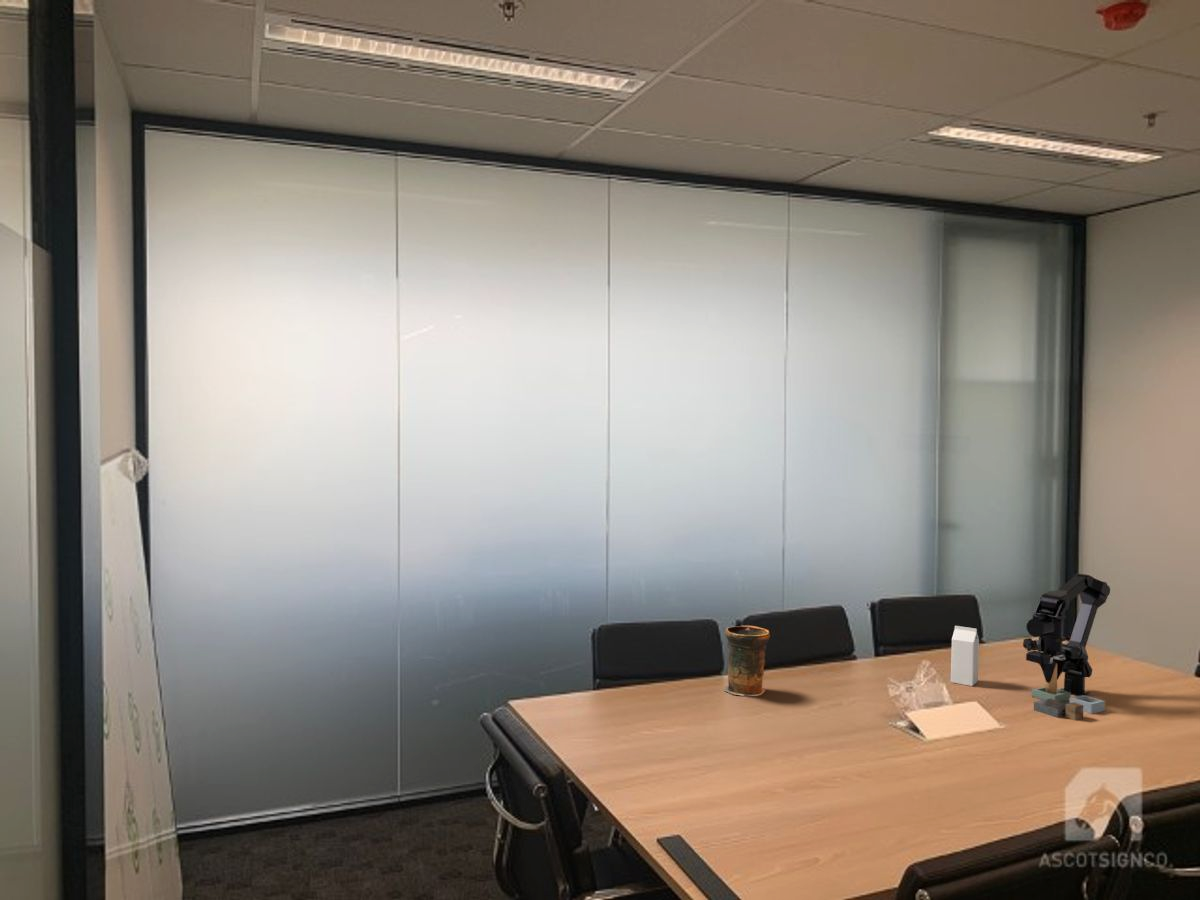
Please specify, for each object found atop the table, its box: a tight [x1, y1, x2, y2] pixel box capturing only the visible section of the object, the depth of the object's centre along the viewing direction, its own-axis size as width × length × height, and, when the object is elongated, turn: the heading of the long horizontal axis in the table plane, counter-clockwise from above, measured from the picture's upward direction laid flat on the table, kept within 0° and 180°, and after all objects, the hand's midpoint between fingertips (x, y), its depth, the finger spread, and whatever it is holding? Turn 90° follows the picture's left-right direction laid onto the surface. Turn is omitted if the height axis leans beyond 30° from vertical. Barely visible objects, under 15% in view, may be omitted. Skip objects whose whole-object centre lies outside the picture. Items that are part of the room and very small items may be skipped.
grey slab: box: [1033, 699, 1068, 719], centre depth 266 cm, size 8×8×3 cm
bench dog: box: [1065, 702, 1084, 721], centre depth 261 cm, size 4×3×4 cm
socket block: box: [1068, 694, 1106, 715], centre depth 270 cm, size 7×7×3 cm
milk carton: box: [950, 625, 980, 687], centre depth 297 cm, size 7×7×19 cm
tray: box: [1031, 685, 1072, 703], centre depth 280 cm, size 8×8×2 cm
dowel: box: [1045, 662, 1058, 694], centre depth 280 cm, size 3×3×10 cm
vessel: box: [723, 625, 771, 697], centre depth 282 cm, size 14×14×20 cm
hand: (1051, 681), depth 280 cm, fingers closed on dowel, 3 cm apart
